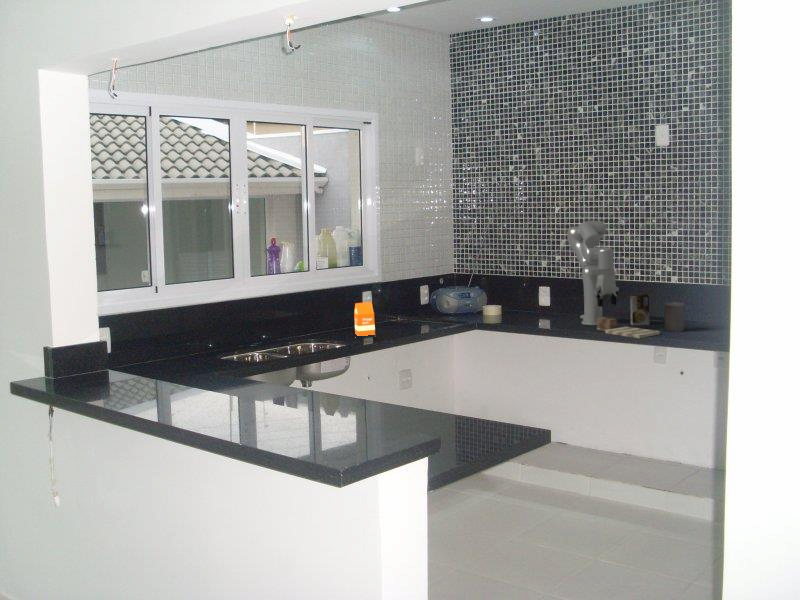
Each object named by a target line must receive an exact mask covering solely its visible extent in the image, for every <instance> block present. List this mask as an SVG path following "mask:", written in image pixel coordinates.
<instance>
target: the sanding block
mask: <svg viewBox="0 0 800 600" xmlns="http://www.w3.org/2000/svg"><path fill="white" fill-rule="evenodd" d="M617 320H618V318H613V317H604V316H602V318H597V325H596V330H598V331H603V332H605V330H609V329H615V328H618V323H617V322H618V321H617Z"/></svg>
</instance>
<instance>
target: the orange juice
mask: <svg viewBox="0 0 800 600" xmlns="http://www.w3.org/2000/svg"><path fill="white" fill-rule="evenodd" d="M354 304H355V305H354V313H353V314H354V315H353V316H354V332H355V333H354V334H356V335H357V336H368V335H375V336H376V327H375V326H376V325H375V312H374V308H373V303H372V301H368V302H367V301H366V302H356V303H354Z"/></svg>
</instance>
